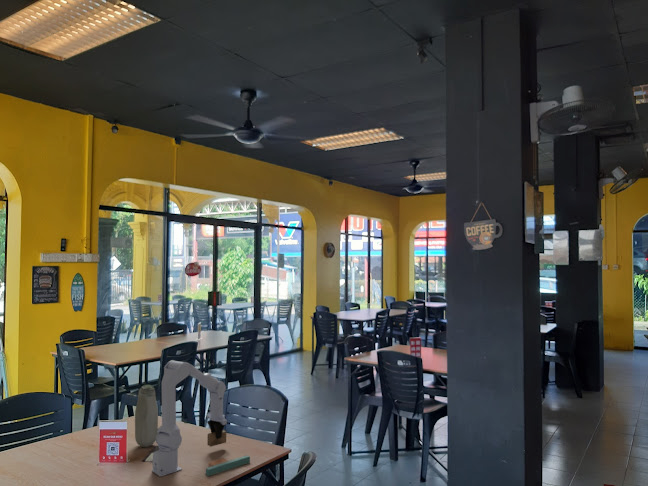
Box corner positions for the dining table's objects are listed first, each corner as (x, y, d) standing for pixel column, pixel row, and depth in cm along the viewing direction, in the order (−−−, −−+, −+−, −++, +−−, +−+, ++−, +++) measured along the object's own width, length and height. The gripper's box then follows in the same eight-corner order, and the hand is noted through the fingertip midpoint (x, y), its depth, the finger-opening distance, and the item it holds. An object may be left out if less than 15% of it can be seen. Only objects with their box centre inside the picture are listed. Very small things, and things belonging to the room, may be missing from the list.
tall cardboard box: (210, 446, 222) (210, 435, 222) (207, 444, 224) (207, 433, 224) (226, 442, 227) (226, 431, 228) (222, 440, 229) (222, 429, 230)
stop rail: (208, 476, 197) (208, 469, 197) (205, 474, 199) (205, 468, 199) (249, 462, 211) (249, 456, 211) (247, 461, 212) (247, 455, 212)
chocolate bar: (174, 445, 231) (163, 460, 213) (174, 447, 231) (163, 462, 213) (155, 445, 230) (142, 460, 212) (155, 447, 230) (142, 462, 212)
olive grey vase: (158, 447, 229) (158, 386, 230) (134, 450, 225) (135, 388, 227) (157, 440, 238) (157, 382, 240) (134, 443, 234) (135, 384, 236)
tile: (217, 472, 202) (217, 467, 202) (208, 467, 207) (208, 462, 208) (231, 467, 207) (231, 462, 207) (222, 462, 212) (222, 457, 212)
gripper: (232, 408, 224) (232, 439, 223) (216, 402, 234) (216, 431, 234) (219, 411, 219) (219, 442, 218) (202, 405, 230) (202, 434, 229)
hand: (216, 437), depth 226 cm, fingers closed on tall cardboard box, 3 cm apart
